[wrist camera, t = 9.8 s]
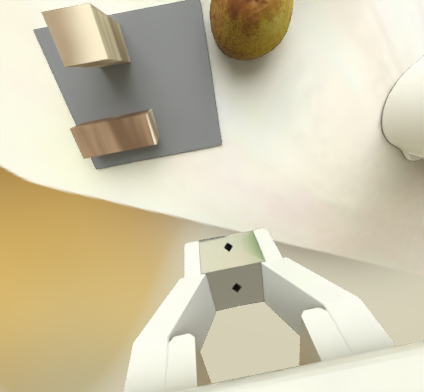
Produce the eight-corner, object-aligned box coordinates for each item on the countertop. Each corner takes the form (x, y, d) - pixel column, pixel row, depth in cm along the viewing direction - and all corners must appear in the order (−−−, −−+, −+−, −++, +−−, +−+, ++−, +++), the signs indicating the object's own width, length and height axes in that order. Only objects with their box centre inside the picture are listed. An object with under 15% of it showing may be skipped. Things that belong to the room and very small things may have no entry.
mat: (199, -2, 28) (199, -3, 27) (221, 143, 36) (221, 144, 36) (35, 30, 28) (33, 29, 27) (96, 168, 36) (96, 169, 36)
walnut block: (147, 113, 29) (69, 128, 29) (156, 144, 31) (83, 158, 31) (151, 109, 33) (82, 122, 33) (159, 136, 35) (94, 149, 35)
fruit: (287, 35, 30) (341, 18, 20) (227, 75, 32) (248, 77, 21) (261, -44, 26) (310, -118, 16) (194, 5, 28) (199, -33, 18)
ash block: (119, 24, 28) (89, 2, 19) (130, 61, 30) (108, 58, 21) (86, 30, 28) (41, 12, 19) (100, 67, 30) (64, 67, 21)
